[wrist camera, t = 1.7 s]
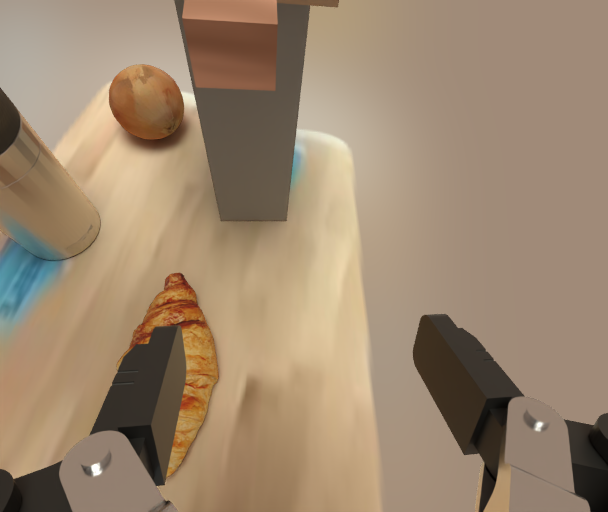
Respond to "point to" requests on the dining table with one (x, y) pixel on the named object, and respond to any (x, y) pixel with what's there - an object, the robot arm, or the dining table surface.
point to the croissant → (198, 351)
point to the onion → (146, 102)
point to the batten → (232, 43)
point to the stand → (256, 125)
